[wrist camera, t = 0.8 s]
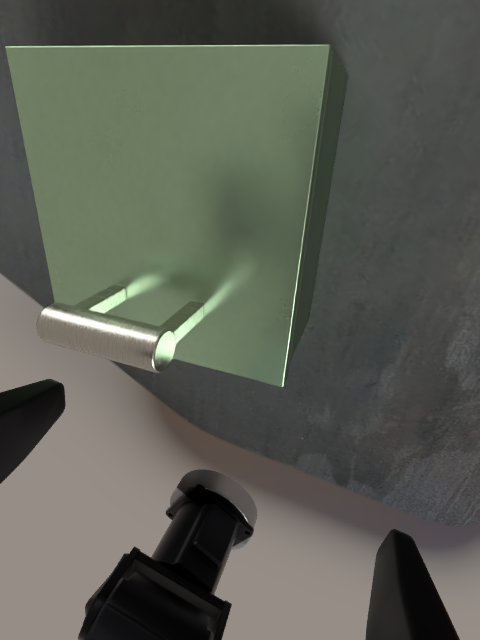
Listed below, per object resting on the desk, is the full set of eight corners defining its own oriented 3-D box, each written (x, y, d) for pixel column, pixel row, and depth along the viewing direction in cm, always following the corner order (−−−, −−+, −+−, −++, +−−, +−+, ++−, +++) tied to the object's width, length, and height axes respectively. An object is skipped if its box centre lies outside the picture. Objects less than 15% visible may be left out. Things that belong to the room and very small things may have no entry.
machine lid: (287, 378, 17) (251, 461, 13) (70, 322, 20) (-17, 373, 16) (333, 49, 11) (299, -7, 7) (22, 50, 15) (-133, 12, 10)
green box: (309, 319, 21) (289, 363, 17) (122, 280, 24) (68, 309, 20) (348, 73, 15) (334, 49, 11) (101, 69, 19) (23, 50, 15)
